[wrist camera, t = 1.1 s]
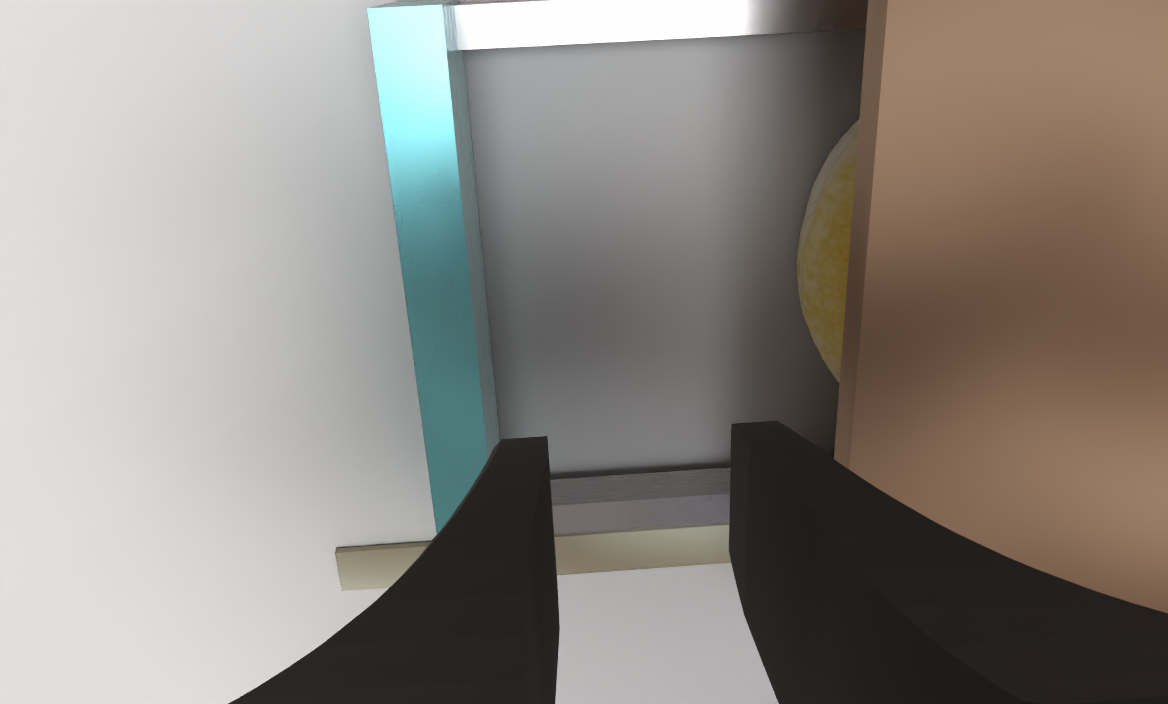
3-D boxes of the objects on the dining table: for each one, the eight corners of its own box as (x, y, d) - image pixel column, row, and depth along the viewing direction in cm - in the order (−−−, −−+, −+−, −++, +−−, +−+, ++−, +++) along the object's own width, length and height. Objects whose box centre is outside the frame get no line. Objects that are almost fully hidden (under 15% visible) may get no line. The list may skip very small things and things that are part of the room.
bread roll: (952, -23, 19) (1054, -22, 15) (1213, 217, 21) (1356, 269, 18) (705, 283, 21) (743, 348, 18) (966, 467, 24) (1047, 559, 20)
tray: (1519, 500, 25) (1821, 662, 19) (343, 586, 24) (283, 784, 18) (1815, -182, 18) (2412, -252, 12) (213, -109, 17) (54, -147, 11)
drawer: (1181, 466, 23) (1292, 550, 20) (459, 516, 23) (447, 613, 19) (1311, -46, 18) (1487, -49, 15) (398, 1, 18) (367, 8, 14)
